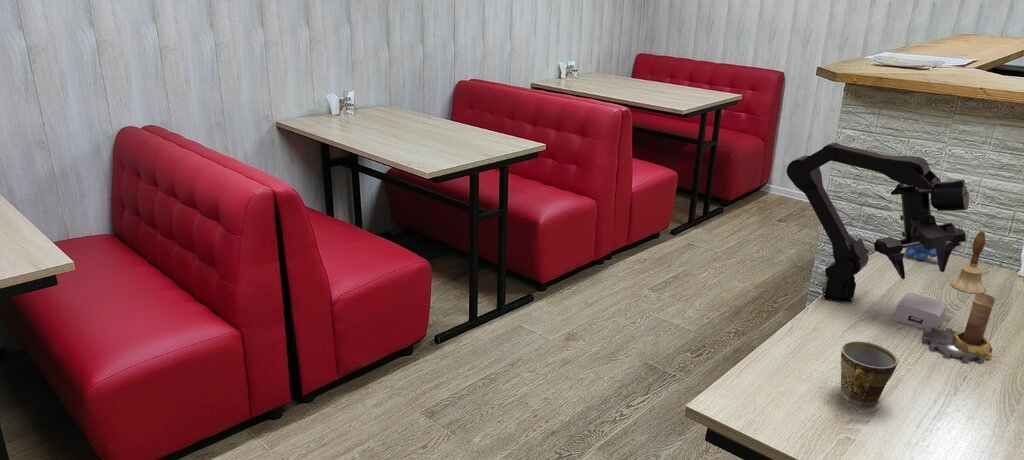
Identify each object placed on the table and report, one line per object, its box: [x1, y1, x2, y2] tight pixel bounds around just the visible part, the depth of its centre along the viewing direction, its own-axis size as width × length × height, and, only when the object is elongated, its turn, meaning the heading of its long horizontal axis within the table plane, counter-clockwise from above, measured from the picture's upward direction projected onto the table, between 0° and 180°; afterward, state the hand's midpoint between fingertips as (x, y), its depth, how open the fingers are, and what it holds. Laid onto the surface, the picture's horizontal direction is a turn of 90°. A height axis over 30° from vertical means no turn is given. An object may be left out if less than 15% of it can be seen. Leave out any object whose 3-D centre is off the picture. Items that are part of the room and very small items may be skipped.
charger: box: [893, 292, 948, 332], centre depth 175 cm, size 5×9×15 cm
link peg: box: [962, 293, 996, 346], centre depth 157 cm, size 4×4×12 cm
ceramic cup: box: [840, 340, 899, 408], centre depth 139 cm, size 13×10×10 cm
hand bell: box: [949, 230, 986, 295], centre depth 188 cm, size 8×8×16 cm
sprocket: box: [921, 327, 994, 364], centre depth 160 cm, size 14×14×3 cm
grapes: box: [903, 241, 937, 261], centre depth 206 cm, size 12×7×12 cm, turn 52°
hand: (922, 275), depth 169 cm, fingers open, 9 cm apart
